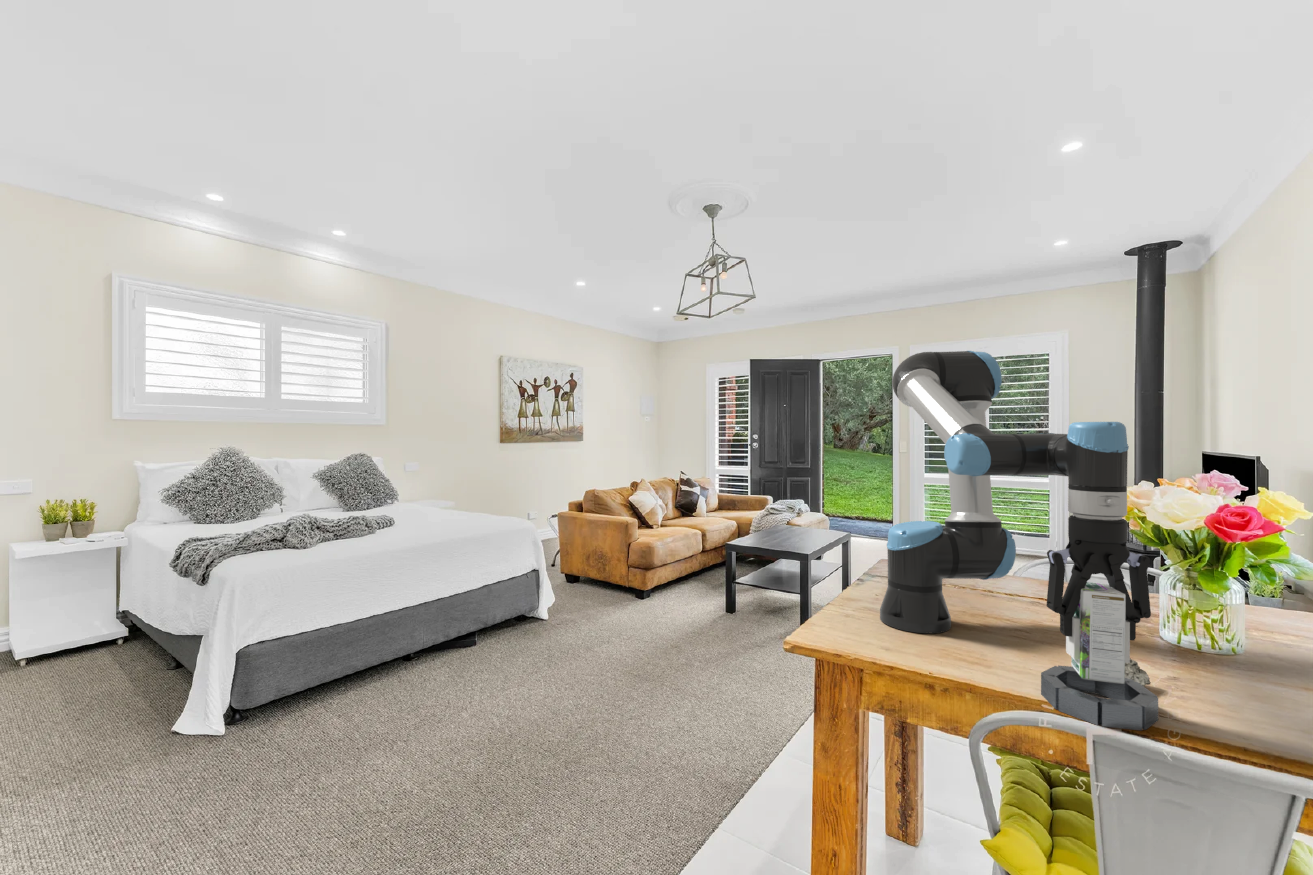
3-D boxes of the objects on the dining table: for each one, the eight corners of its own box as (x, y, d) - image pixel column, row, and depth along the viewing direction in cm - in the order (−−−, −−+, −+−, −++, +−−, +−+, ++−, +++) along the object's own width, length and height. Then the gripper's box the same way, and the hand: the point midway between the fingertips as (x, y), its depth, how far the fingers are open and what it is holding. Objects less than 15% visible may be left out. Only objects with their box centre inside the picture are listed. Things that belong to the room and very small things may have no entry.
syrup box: (1069, 665, 94) (1069, 580, 94) (1112, 670, 92) (1112, 583, 91) (1081, 679, 88) (1081, 589, 88) (1127, 685, 86) (1127, 592, 86)
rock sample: (1087, 671, 94) (1100, 629, 98) (1066, 684, 100) (1079, 644, 104) (1160, 710, 90) (1170, 665, 94) (1133, 721, 96) (1143, 678, 100)
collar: (1069, 723, 85) (1069, 700, 85) (1029, 682, 99) (1029, 663, 99) (1177, 733, 82) (1177, 710, 82) (1121, 690, 95) (1121, 670, 95)
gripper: (1040, 518, 88) (1040, 661, 89) (1183, 521, 84) (1183, 672, 84) (1021, 511, 96) (1021, 644, 96) (1151, 514, 91) (1151, 653, 91)
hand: (1097, 657), depth 90 cm, fingers closed on syrup box, 6 cm apart
